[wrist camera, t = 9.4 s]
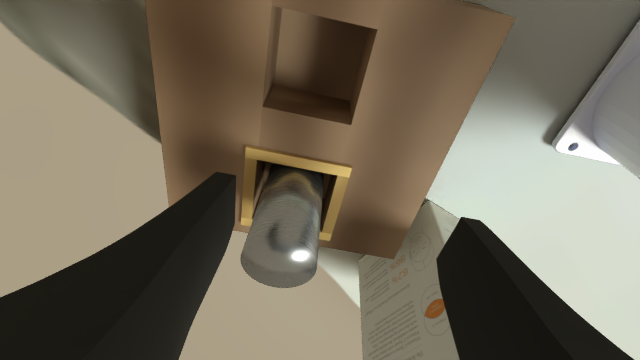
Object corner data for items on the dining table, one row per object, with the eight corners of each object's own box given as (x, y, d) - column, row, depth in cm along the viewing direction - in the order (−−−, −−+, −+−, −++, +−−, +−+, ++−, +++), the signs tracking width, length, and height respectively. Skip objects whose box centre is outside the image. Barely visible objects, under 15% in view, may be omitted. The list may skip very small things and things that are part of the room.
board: (482, 5, 15) (517, 19, 12) (387, 221, 23) (394, 262, 20) (179, -67, 14) (133, -72, 11) (192, 184, 22) (168, 221, 19)
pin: (331, 146, 19) (325, 247, 12) (318, 187, 21) (307, 293, 14) (278, 133, 19) (244, 230, 12) (270, 176, 21) (237, 279, 14)
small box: (408, 286, 27) (437, 439, 19) (356, 259, 26) (361, 413, 17) (485, 232, 23) (568, 398, 14) (429, 196, 21) (484, 358, 13)
